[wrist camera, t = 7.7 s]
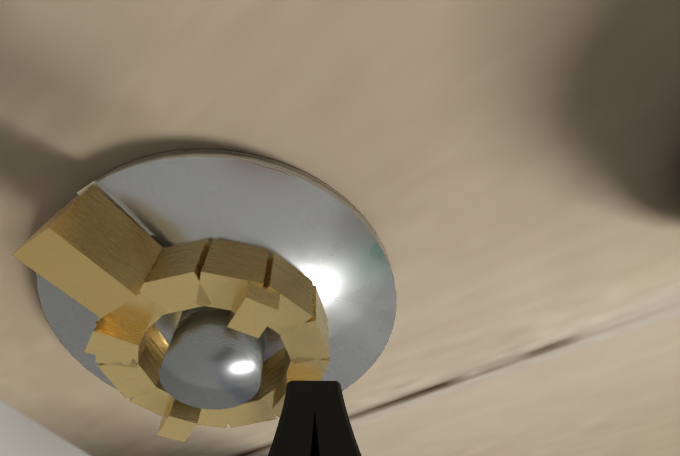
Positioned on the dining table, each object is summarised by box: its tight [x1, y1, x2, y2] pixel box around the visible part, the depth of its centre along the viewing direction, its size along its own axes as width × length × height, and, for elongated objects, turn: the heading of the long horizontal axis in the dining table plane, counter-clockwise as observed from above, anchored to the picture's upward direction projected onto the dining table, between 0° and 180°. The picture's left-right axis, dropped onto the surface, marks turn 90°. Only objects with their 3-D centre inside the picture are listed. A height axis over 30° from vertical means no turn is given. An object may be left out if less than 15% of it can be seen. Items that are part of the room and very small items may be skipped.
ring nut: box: [12, 185, 330, 442], centre depth 19 cm, size 10×14×3 cm
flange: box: [36, 149, 396, 410], centre depth 20 cm, size 18×18×5 cm
